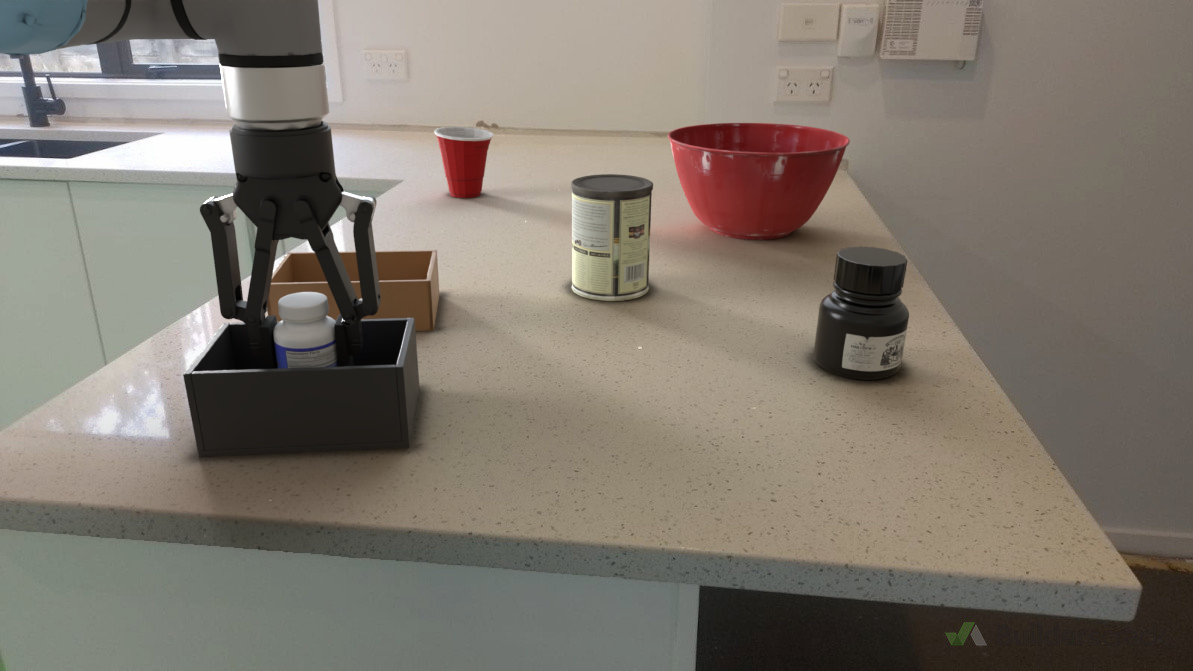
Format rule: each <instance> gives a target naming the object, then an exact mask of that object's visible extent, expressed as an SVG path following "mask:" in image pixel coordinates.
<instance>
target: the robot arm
mask: <svg viewBox="0 0 1193 671" xmlns="http://www.w3.org/2000/svg"><path fill="white" fill-rule="evenodd" d="M320 23H321V21H320V10H319V0H0V54H3V55H8V56H22V57H23V56H29V55H41V54H46V53H49V52H52V51H56V50H62V49H67V48H74V47H79V46H80V47H81V46H91V45H100V44H108V43H117V42H124V41H134V40H194V41H207V40H214V42H215V45H216V48H217V58H218V63H219V69H220V76H221V84H222V90H223V98H224V105H225V106H224V107H225V112H226V116H227V117H228V118H230V119H231V120H232V121H235V123H234V124H233V125H232V126H231V128H230V129H229V131H228V132H229V139H230V145H231V151H232V152H231V153H232V159H233V166H234V173H235V178H236V179H235V180H236V181H235V185H234V187H233V190H232V193H230V194H226V195H224V196H217V195H216V196H215V195H214V196H212V197H210V198H209V199H207V200H206V201H205V202H204V203H202V204H201V205H200V206H199V214H200V215H201V217H202V219H203V221H204V223H205V224H206V227H207V230H209V232H210V239H211V240H210V241H211V247H212V248H211V249H212V256H213V264H214V272H215V280H216V286H217V287H216V288H217V296H218V303H219V311H220V315H221V317H222V318H223V319H225V320H232V319H234V320H237V321H241V322H244V323H245V324H246V326H247V329H248V335H249V342H250V349H251V354H252V356H253V357H254V359H263V358H264V363H265V369H278V367H277V360H276V352H275V345H274V337H273V330H274V328H275V326H276V325H277V319H276V316H268V315H267V316H266V313H267V310H268V308H267V304H268V298H269V292H270V286H271V280H272V274H273V271H274V267H275V261H276V255H277V250H278V244H279V242H280V241H283V240H287V239H289V238H290V239H291V238H293V239H296V240H297V239H298V240H303V241H304V240H307V242H308V244H309V247H310V249H311V250H312V252H315V254H316V256H317V259H318V261H319V264H320V266H321V268H322V271H323V273H324V275H325V278H326V280H327V283H328V285H329V287H330V290H331V292H332V295H333V297H334V299H335V302H336V304H337V306H338V309H339V311H340V314H339V316H338V318H337V320H336V323H335V325H334V328H335V337H336V346H337V355H338V364H339V367H340V366H354V365H353V356H355V355H360V352H361V349H362V346H363V334H362V324H361V319H362V318H363V317H365V316H368V315H369V316H372V315H375V314H376V313H377V311H378V309H379V306H380V303H381V294H380V286H379V278H378V269H377V261H376V253H375V251H376V246H375V245H376V244H375V238H374V237H375V236H374V229H373V219H374V216H375V211H376V207H377V199H376V197H375V196H373V195H371V194H366V195H364V196H361V195H358V194H354V193H351V192H347V191H345V190H344V187H343V185H342V184H341V183H340V181H339V179H338V176H337V172H336V166H335V165H336V164H335V163H336V162H335V155H334V145H333V135H332V127H331V126H330V125H329V123H328V122H326V121H324V120H323V119H324V118H325V117H327V116H328V115H329V113H330V104H329V97H328V96H329V95H328V88H327V87H328V86H327V76H326V67H325V61H324V54H323V45H322V44H323V43H322V35H321V34H322V33H321V24H320ZM339 207H342V208H343V209H344V210H345V214H346V219H347V220H348V221H349V222H350V223H353V226H352V227H353V228H352V229H353V230H352V231H353V232H352V233H353V244H354V250H355V251H356V258H357V266H358V273H359V281H360V288H361V296H362V299H359V300H358V298H357V296H356V293H355V291H354V288H353V286H352V283H351V281H350V278H349V276H348V273H347V271H346V268H345V266H344V264H343V261H342V259H341V256H340V254H339V252H340V251H339V249H338V247H337V243H336V241H335V237H334V236H335V235H334V233H333V231H332V227H331V225H330V223H329V222H330V221H331V219H332V218H333V216H334V215H335V213H336V211H337V210H338V208H339ZM237 208H238V209H239V210H240V211H241V213H243V214H244V215H245V217H246V218H247V219H248V220H250V222H251V223H252V224H253V225H254V226H255V227H256V234H255V240H254V255H253V261H252V266H251V274H250V281H249V286H248V292H247V299H246V300H244V296H243V294H244V293H243V286H242V277H241V270H240V269H241V268H240V260H239V252H238V242H237V234H236V227H235V223H234V221H235V220H236V219H237V217H238V214H237Z"/></svg>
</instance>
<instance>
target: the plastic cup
mask: <svg viewBox="0 0 1193 671" xmlns="http://www.w3.org/2000/svg"><path fill="white" fill-rule="evenodd" d="M433 133H434V135H435V136H436V139H437V143H438V147H439V150H440V156H441V160H442V166H443V171H444V175H445V178H446V183H447V186H448V188H447V189H448V192H449V195H450V196H451V197H453V198H459V199H470V198H477V197H479V196H482V195H481V194H482V190H483V183H484V177H485V172H486V165H487V157H488V151H489V149H490V148H489V147H490V144H491V141H492V139H493V138H494V136H495V135H494V133H493V132H492V131H489V130H485V129H481V128H477V127H466V126H443V127H437V128H435V129H434V130H433Z"/></svg>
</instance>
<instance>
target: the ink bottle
mask: <svg viewBox="0 0 1193 671" xmlns="http://www.w3.org/2000/svg"><path fill="white" fill-rule="evenodd" d="M834 265H835V266H834V272H833V283H832V286H833V290H832V291H831V292H830V293H829V294H827V295H825V296H824V297H823V298H822V299H821V301H820V304H819V308H818V315H817V323H816V331H815V339H814V347H813V359H814V361H815V363H816V364H817V365H819V366H820V367H821V368H823V369H824V370H827V371H828V372H831V373H833V374H835V375H837V376H841V377H845V378H849V379H854V380H864V381H866V380H868V381H869V380H879V379H885V378H889V377H891V376H893V375H895V374H897V373H898V372H899V371H900V369H901V366H902V361H903V356H904V351H905V350H904V349H905V345H906V339H907V338H906V337H907V333H908V327H909V326H908V325H909V320H910V312H909V309H908V308H907V306H906V304H905V303H904V302H903V301H902V300H901V298H900V296H901V295H902V294H903V288H904V284H905V278H906V272H907V266H908V259H907V257H906V255H903V254H902V253H900V252H897V251H895V250H891V249H888V248H881V247H875V246H874V247H873V246H862V245H861V246H848V247H844V248H840V249H839V250H838V251H837V252H836V258H835V264H834Z"/></svg>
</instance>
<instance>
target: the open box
mask: <svg viewBox="0 0 1193 671" xmlns="http://www.w3.org/2000/svg"><path fill="white" fill-rule="evenodd" d="M335 321H336V320H335ZM279 322H280V321H277V324H278V323H279ZM361 324H362V334H363V346H362V349H361V352H360V355H355V356H353V365H354V366H340V367H310V368H279V369H265V363H264V358H263V359H254V357H253V356H252V354H251V349H250V342H249V335H248V329H247V326H246V324H245V323H244V322H242V321H241V322H239V321H238V322H223V323H222V325H221V326H220V327H219V329H218V330H217V331H216V332H215V333H214V335H213V336H212V338H210V340H209V341H208V342H207V343H206V345H205V346H204V347H203V348H202V349H201V351H200V352H199V354H198V355H197V356H196V358H195V359H194V360H193V361H192V363H191V364H190V365H189V366H188V368H186V370H185V371H184V373H183V374H182V376H183V382H184V387H185V393H186V395H187V396H186V397H187V402H188V408H189V413H190V418H191V423H192V429H193V434H194V440H195V445H196V450H197V456H198V458H206V457H207V458H208V457H230V456H231V457H234V456H251V455H253V456H254V455H255V456H256V455H276V454H277V455H278V454H299V453H320V452H321V453H322V452H339V451H340V452H344V451H345V452H346V451H347V452H348V451H365V450H366V451H368V450H391V449H408V448H410V447H411V441H412V437H413V431H414V425H415V418H416V412H417V408H418V402H419V396H420V391H421V388H420V376H419V375H420V374H419V361H418V348H417V347H418V346H417V334H416V332H417V331H415V318H388V319H361Z"/></svg>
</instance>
